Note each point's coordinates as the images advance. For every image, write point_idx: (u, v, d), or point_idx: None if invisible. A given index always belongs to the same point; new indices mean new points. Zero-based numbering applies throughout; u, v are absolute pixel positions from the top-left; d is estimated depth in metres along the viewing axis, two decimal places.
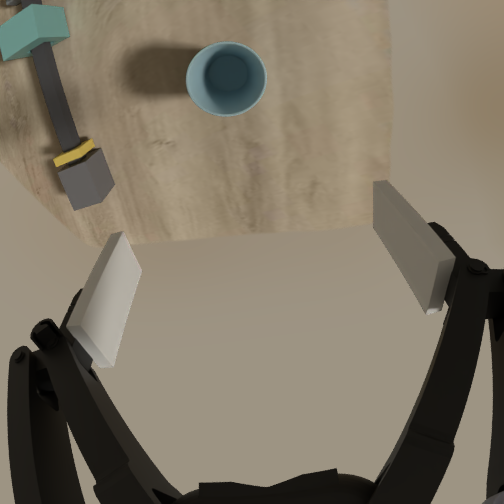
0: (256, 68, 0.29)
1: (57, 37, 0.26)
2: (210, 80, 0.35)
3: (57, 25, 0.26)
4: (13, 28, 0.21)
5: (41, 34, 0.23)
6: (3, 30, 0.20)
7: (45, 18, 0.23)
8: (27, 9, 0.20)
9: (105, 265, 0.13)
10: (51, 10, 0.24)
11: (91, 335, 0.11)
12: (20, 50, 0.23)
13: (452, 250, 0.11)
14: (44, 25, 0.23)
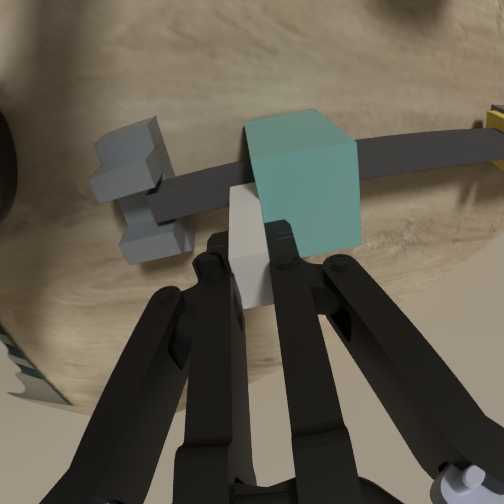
0: None
1: None
2: None
3: (298, 122, 0.18)
4: (298, 213, 0.16)
5: (342, 138, 0.14)
6: None
7: (288, 136, 0.16)
8: (263, 173, 0.14)
9: (244, 209, 0.15)
10: (258, 133, 0.17)
11: None
12: None
13: (284, 245, 0.13)
14: (310, 136, 0.15)
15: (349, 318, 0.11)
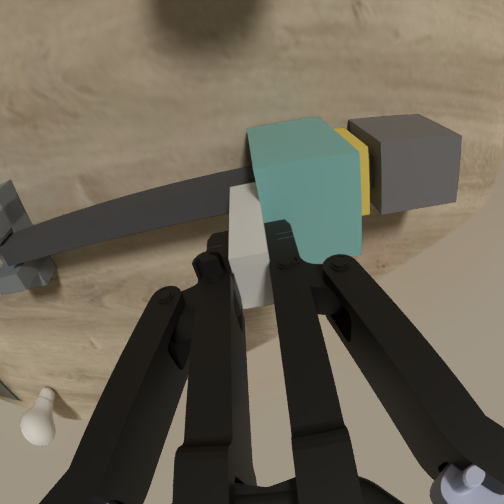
0: None
1: None
2: None
3: (300, 129, 0.18)
4: (299, 222, 0.16)
5: (345, 148, 0.14)
6: None
7: (291, 144, 0.16)
8: (265, 182, 0.14)
9: (244, 209, 0.15)
10: (261, 140, 0.17)
11: None
12: None
13: (284, 245, 0.13)
14: (313, 145, 0.15)
15: (349, 318, 0.11)
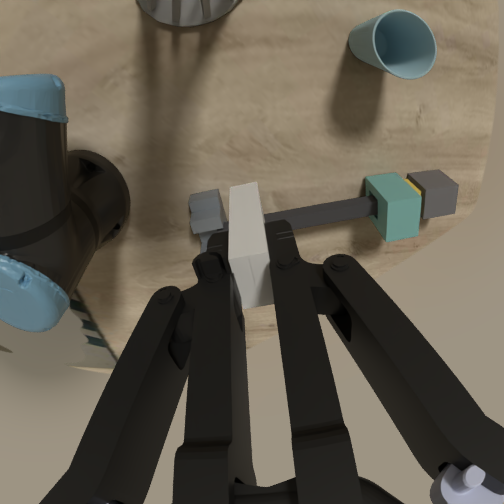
0: (385, 17, 0.24)
1: None
2: None
3: (393, 181, 0.40)
4: (398, 222, 0.38)
5: (416, 194, 0.36)
6: (392, 234, 0.39)
7: (394, 191, 0.38)
8: (390, 207, 0.36)
9: (243, 209, 0.15)
10: (379, 186, 0.40)
11: None
12: None
13: (284, 245, 0.13)
14: (403, 191, 0.37)
15: (349, 318, 0.11)
